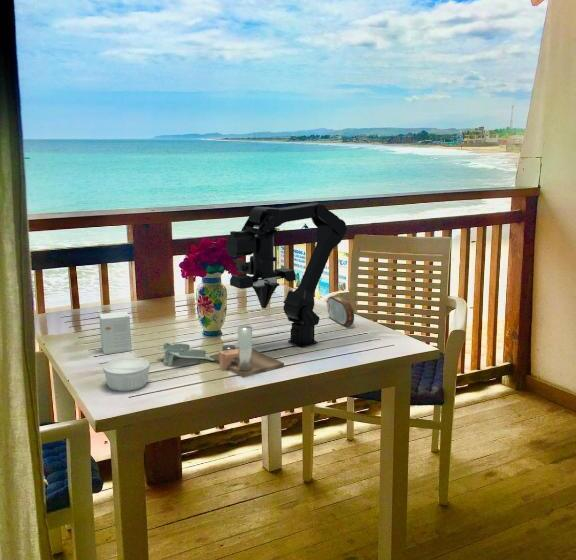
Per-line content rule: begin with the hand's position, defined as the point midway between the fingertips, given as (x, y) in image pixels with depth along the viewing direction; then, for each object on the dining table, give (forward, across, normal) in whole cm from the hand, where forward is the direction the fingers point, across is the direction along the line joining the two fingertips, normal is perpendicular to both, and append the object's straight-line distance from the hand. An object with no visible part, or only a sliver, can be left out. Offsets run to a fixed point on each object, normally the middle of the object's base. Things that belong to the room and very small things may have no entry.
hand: (263, 308), depth 181 cm
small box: (+13, +33, -27) cm, 45 cm away
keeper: (+13, +13, +6) cm, 19 cm away
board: (+13, +9, +4) cm, 16 cm away
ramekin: (+13, +41, 0) cm, 43 cm away
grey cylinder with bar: (+12, +12, +5) cm, 18 cm away
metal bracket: (+14, +21, -8) cm, 26 cm away
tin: (+13, -37, -10) cm, 41 cm away
